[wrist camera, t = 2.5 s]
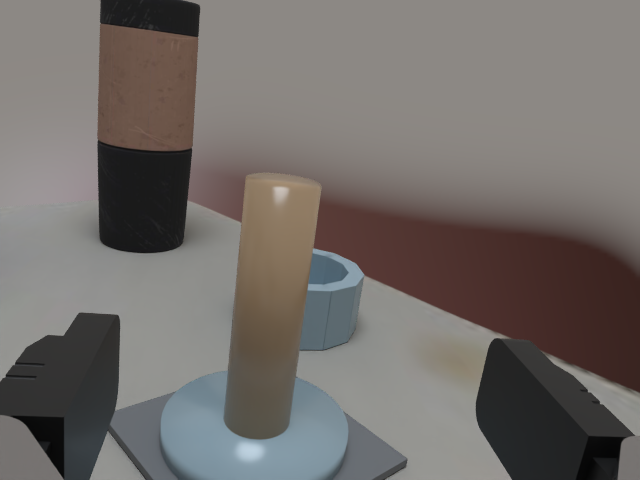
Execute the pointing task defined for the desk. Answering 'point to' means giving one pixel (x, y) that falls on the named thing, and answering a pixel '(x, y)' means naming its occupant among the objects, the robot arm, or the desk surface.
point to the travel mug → (145, 121)
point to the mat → (144, 450)
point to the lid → (261, 359)
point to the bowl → (330, 301)
